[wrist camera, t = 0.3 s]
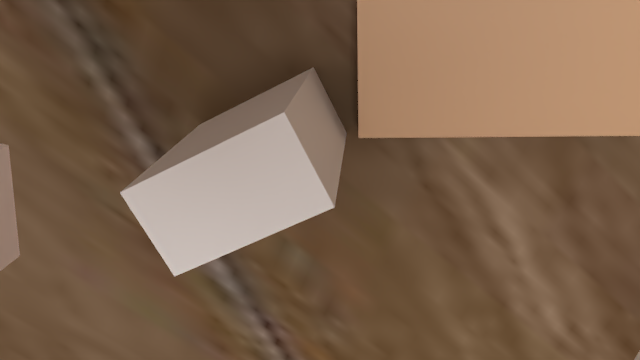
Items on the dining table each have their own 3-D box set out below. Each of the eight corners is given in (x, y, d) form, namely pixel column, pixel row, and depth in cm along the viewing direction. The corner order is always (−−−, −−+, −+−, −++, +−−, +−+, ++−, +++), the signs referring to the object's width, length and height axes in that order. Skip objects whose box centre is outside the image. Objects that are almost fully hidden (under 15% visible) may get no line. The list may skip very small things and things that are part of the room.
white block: (199, 124, 38) (119, 192, 26) (313, 67, 36) (284, 112, 24) (236, 187, 40) (176, 279, 28) (347, 135, 38) (336, 210, 26)
